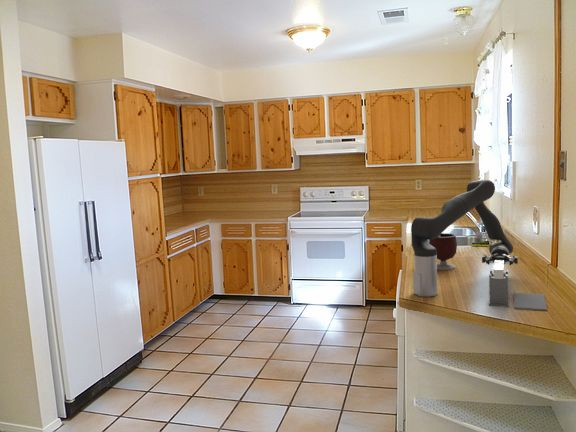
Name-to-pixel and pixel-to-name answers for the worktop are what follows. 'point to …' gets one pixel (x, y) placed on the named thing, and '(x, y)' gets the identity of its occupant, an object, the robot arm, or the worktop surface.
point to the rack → (498, 290)
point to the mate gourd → (445, 249)
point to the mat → (529, 301)
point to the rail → (498, 269)
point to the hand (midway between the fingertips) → (499, 262)
